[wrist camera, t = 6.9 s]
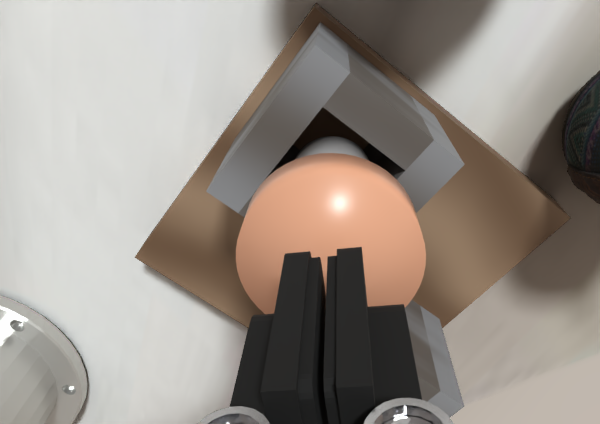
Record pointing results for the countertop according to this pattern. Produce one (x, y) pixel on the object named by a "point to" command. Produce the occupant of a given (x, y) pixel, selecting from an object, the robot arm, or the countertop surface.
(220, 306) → the board
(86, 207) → the countertop surface
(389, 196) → the orange rounded piece
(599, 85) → the mate gourd
